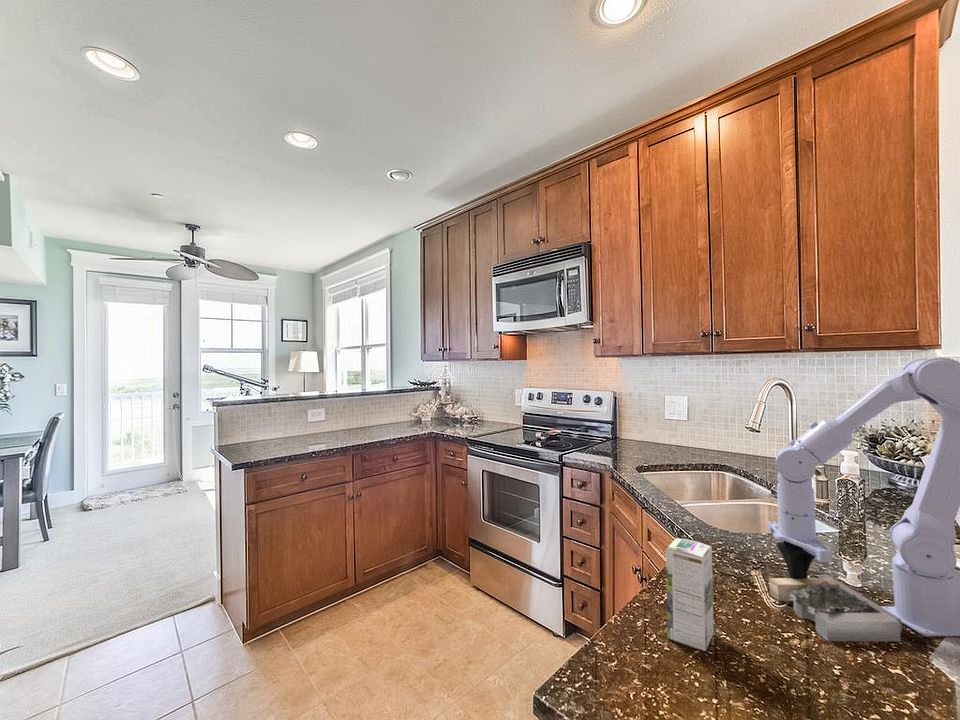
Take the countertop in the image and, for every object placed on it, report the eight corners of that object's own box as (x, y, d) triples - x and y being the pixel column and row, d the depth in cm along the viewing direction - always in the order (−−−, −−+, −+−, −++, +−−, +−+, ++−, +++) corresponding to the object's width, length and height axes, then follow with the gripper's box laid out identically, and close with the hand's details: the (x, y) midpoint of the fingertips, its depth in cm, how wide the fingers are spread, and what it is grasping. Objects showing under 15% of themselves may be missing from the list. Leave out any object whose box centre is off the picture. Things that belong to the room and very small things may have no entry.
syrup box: (676, 622, 73) (673, 536, 73) (715, 635, 69) (712, 544, 70) (667, 639, 68) (663, 547, 69) (708, 653, 65) (704, 556, 65)
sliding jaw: (829, 594, 81) (828, 577, 81) (840, 601, 78) (839, 584, 78) (769, 594, 81) (769, 578, 81) (778, 601, 79) (777, 584, 79)
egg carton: (830, 635, 69) (829, 609, 69) (784, 611, 76) (783, 587, 76) (874, 621, 72) (873, 596, 72) (826, 599, 79) (825, 577, 79)
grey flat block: (827, 584, 84) (826, 569, 84) (917, 641, 66) (916, 621, 66) (757, 584, 85) (756, 569, 85) (827, 641, 67) (826, 621, 67)
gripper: (751, 500, 89) (754, 566, 88) (801, 525, 74) (804, 604, 74) (786, 499, 88) (789, 566, 88) (843, 525, 74) (846, 604, 74)
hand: (798, 583), depth 81 cm, fingers closed, pressing on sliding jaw
